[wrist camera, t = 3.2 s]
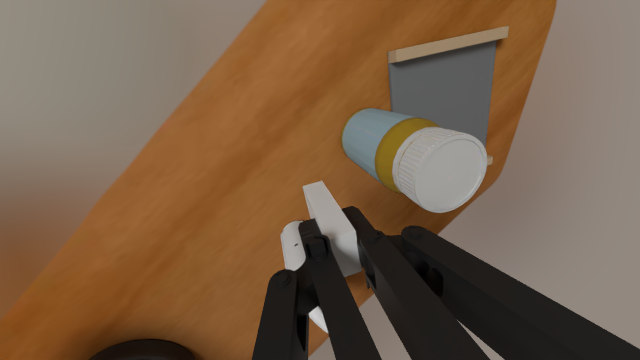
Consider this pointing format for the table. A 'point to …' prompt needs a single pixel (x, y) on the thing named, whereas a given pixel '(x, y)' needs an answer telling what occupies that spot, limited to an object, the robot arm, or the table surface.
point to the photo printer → (298, 262)
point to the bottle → (416, 157)
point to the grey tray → (447, 81)
